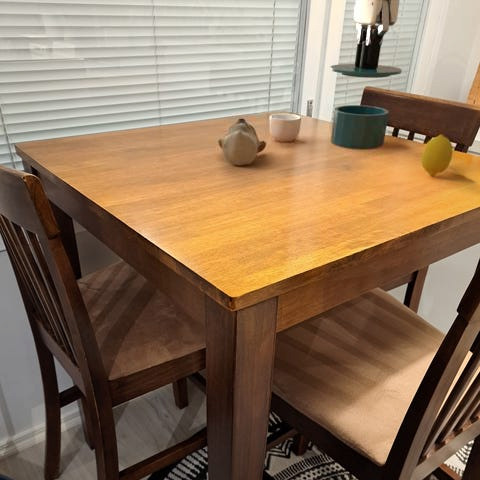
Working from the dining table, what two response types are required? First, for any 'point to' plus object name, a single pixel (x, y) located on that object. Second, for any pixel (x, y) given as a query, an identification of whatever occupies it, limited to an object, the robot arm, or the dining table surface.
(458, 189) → the dining table surface
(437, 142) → the lemon
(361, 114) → the pot
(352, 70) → the lid
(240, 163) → the ceramic sculpture
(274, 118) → the teacup
